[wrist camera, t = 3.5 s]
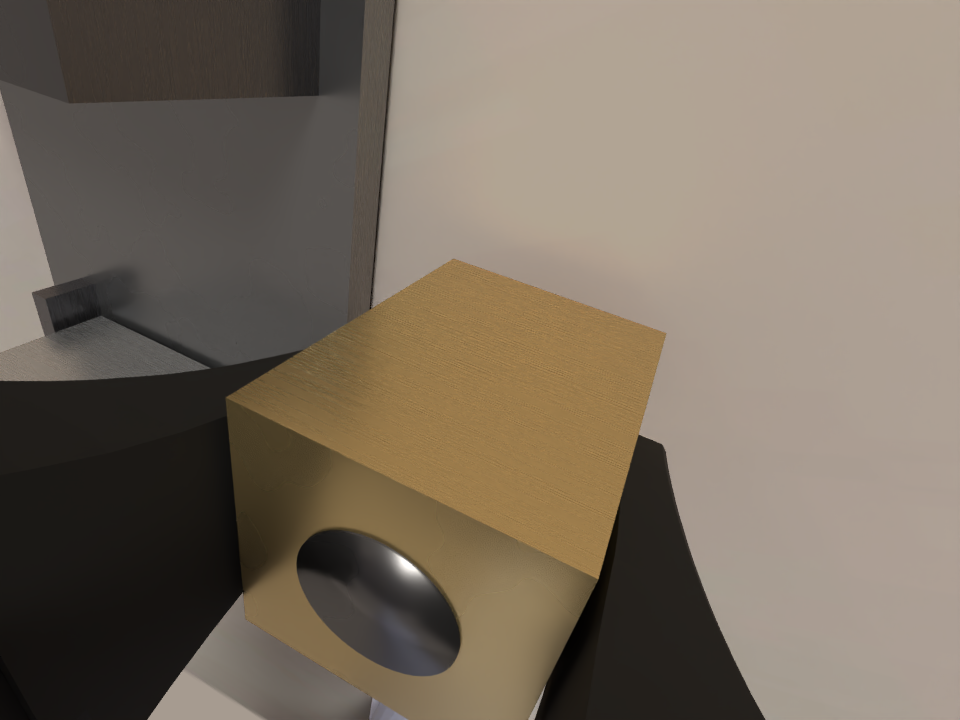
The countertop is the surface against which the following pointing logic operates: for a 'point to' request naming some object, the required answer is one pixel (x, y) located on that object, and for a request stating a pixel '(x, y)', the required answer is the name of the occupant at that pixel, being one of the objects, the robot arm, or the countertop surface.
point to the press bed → (202, 164)
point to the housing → (439, 488)
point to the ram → (92, 355)
